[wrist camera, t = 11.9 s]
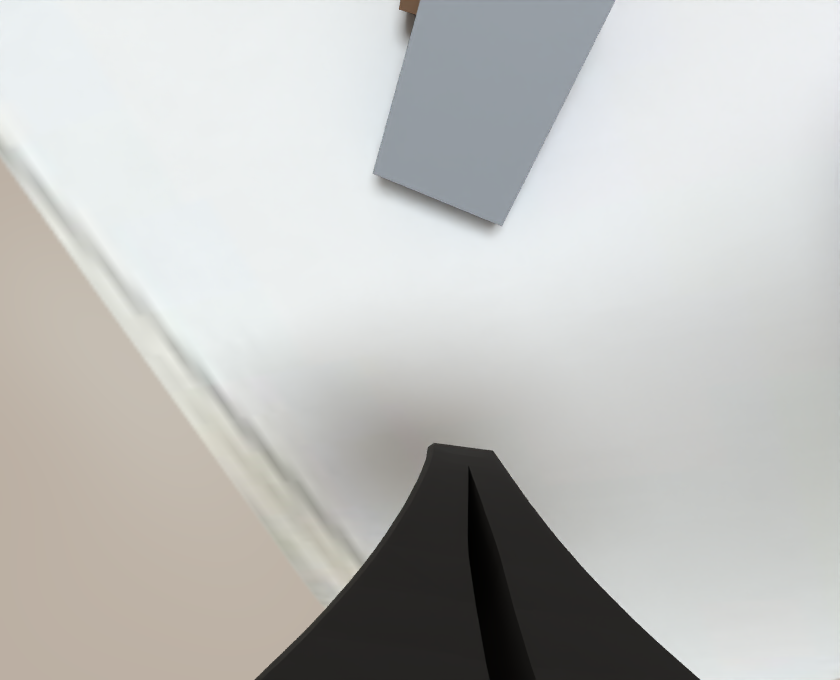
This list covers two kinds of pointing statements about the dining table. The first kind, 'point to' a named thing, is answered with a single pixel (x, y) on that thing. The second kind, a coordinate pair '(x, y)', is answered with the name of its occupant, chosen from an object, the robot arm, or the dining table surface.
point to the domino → (483, 96)
